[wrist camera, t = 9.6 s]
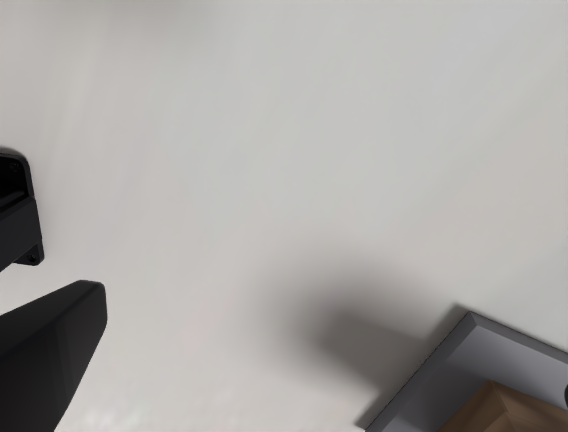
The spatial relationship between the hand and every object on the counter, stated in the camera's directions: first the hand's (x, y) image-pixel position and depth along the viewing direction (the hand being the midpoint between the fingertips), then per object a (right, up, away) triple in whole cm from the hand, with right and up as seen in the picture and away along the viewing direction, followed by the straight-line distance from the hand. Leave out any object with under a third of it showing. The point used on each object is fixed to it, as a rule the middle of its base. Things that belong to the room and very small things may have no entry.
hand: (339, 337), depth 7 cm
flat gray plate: (+13, -10, +19) cm, 25 cm away
